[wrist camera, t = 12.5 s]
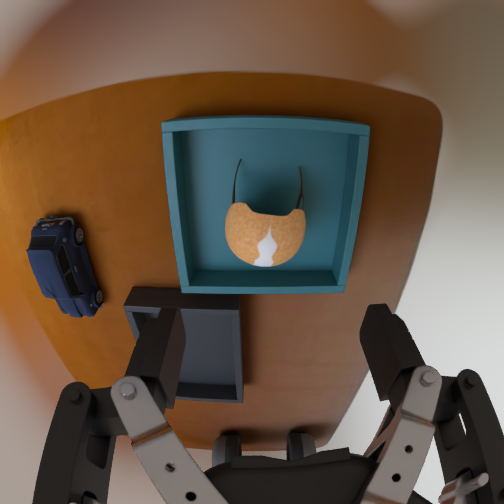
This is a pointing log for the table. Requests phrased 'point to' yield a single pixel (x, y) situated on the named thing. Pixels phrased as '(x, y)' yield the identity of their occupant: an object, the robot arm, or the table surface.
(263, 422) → the table surface
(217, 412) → the table surface
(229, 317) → the charcoal tray
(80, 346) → the table surface
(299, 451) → the headphones
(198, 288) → the teal tray
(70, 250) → the toy car
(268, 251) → the helmet
